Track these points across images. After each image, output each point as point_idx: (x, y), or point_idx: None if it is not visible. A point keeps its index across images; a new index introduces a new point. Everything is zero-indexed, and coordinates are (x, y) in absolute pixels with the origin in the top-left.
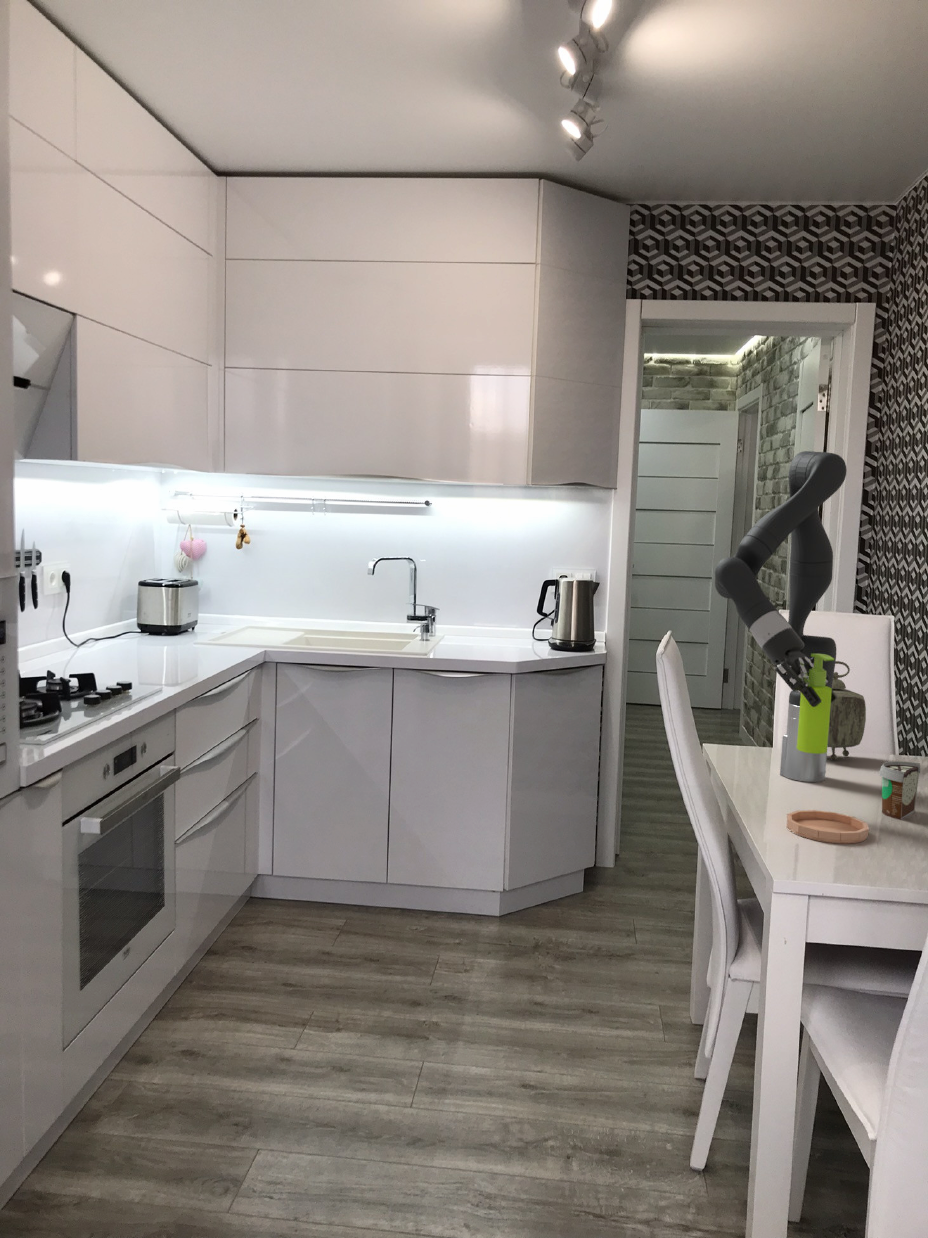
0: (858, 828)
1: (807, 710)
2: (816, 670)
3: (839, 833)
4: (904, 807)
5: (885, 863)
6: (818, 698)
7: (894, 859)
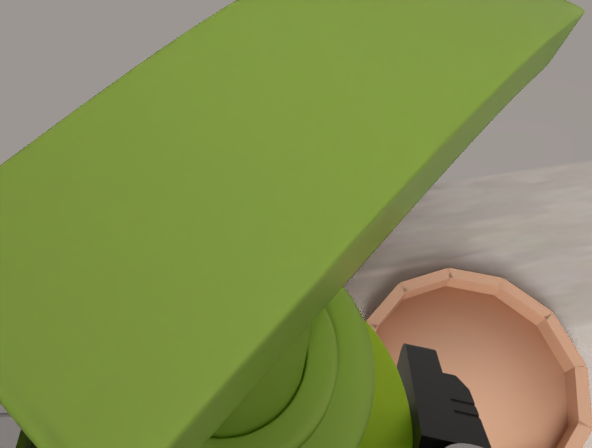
0: (395, 309)
1: None
2: (338, 353)
3: (554, 316)
4: None
5: (587, 215)
6: (436, 358)
7: (543, 207)
